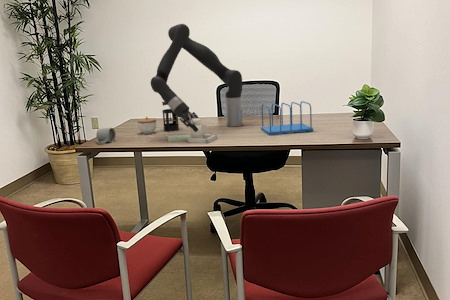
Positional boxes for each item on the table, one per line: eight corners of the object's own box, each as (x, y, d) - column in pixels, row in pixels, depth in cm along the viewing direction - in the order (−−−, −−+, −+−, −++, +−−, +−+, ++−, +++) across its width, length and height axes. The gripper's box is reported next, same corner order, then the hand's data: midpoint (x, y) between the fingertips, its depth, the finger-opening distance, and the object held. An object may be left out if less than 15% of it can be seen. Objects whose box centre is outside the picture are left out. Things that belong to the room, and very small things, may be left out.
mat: (190, 135, 249) (190, 134, 249) (191, 140, 237) (190, 139, 237) (168, 137, 248) (168, 136, 248) (168, 141, 236) (168, 140, 236)
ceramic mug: (103, 140, 249) (101, 126, 247) (116, 140, 247) (115, 126, 245) (93, 144, 239) (91, 130, 237) (107, 144, 237) (105, 130, 235)
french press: (174, 131, 262) (172, 92, 257) (160, 131, 265) (157, 92, 260) (182, 127, 273) (180, 90, 268) (168, 127, 276) (165, 90, 271)
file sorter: (302, 126, 261) (302, 100, 258) (313, 131, 245) (313, 103, 241) (260, 129, 257) (260, 103, 253) (269, 135, 240) (268, 107, 237)
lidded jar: (148, 130, 270) (147, 115, 268) (160, 132, 264) (159, 116, 261) (134, 133, 262) (133, 117, 260) (147, 135, 256) (145, 119, 253)
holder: (188, 142, 233) (187, 138, 232) (197, 137, 243) (197, 134, 242) (207, 143, 228) (207, 139, 228) (216, 138, 238) (216, 134, 238)
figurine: (189, 140, 235) (187, 119, 233) (194, 137, 241) (193, 117, 238) (203, 141, 232) (202, 120, 229) (208, 138, 237) (207, 118, 235)
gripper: (175, 103, 228) (198, 127, 227) (188, 99, 241) (210, 122, 239) (167, 113, 232) (189, 137, 230) (180, 109, 245) (201, 131, 243)
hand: (199, 129), depth 235 cm, fingers closed on figurine, 6 cm apart
